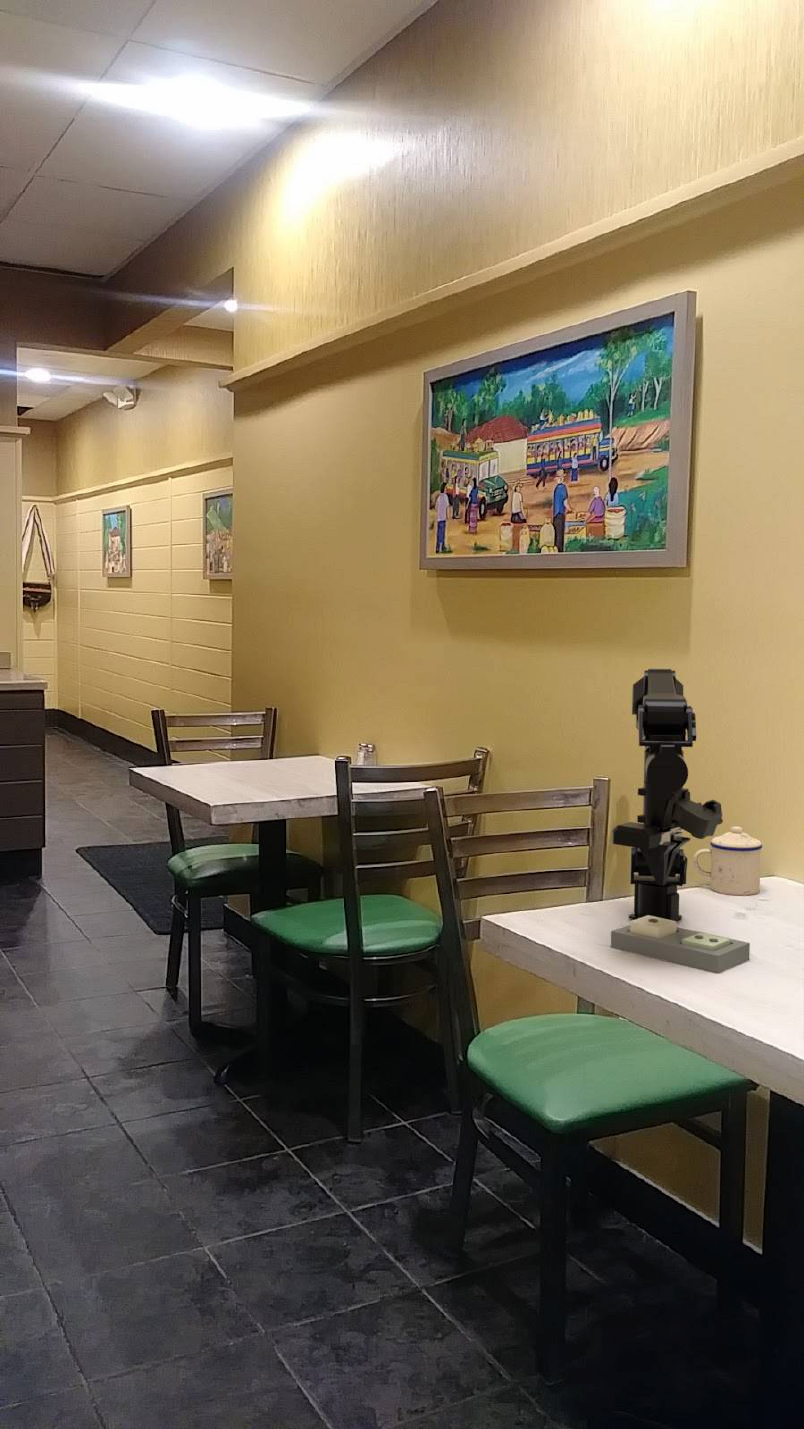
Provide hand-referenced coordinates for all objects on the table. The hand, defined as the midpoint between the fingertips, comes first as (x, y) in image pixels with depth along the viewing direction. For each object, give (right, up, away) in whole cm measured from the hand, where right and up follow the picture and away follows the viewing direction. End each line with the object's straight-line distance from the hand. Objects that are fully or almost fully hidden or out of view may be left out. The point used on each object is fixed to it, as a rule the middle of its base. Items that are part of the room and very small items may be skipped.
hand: (661, 884), depth 174 cm
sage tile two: (+6, -9, -5) cm, 12 cm away
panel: (+2, -10, -2) cm, 10 cm away
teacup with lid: (+20, -7, +38) cm, 44 cm away
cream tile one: (-1, -8, +1) cm, 8 cm away
